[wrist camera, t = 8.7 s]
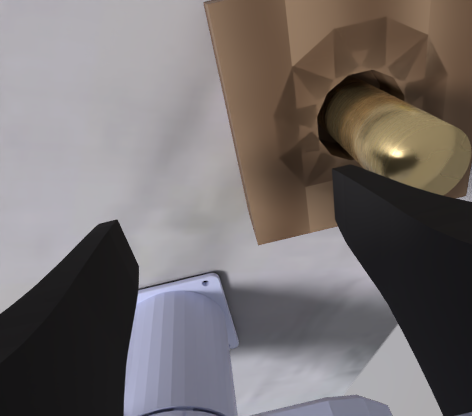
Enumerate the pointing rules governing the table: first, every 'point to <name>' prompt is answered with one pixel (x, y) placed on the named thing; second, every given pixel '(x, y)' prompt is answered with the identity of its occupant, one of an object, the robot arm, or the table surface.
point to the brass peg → (395, 137)
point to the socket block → (328, 89)
